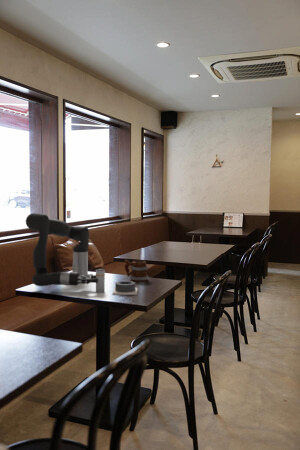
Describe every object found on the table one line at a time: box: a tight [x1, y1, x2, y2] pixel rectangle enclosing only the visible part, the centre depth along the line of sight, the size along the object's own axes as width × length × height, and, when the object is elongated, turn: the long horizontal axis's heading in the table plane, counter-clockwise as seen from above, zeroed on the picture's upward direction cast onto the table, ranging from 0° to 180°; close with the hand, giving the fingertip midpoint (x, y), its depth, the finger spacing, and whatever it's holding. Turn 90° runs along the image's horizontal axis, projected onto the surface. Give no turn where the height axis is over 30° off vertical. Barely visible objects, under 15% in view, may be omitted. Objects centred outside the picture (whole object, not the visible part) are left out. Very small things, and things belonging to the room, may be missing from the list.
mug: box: [124, 259, 149, 283], centre depth 260 cm, size 12×14×15 cm
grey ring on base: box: [112, 280, 138, 296], centre depth 229 cm, size 13×13×5 cm
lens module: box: [95, 268, 106, 294], centre depth 229 cm, size 5×5×12 cm
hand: (98, 278), depth 229 cm, fingers open, 8 cm apart
